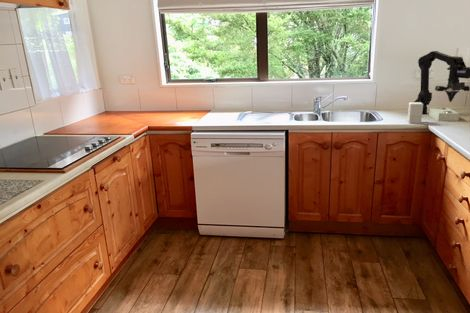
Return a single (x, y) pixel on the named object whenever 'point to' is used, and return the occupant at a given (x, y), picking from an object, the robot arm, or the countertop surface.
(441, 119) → the socket block
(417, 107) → the supplement box
